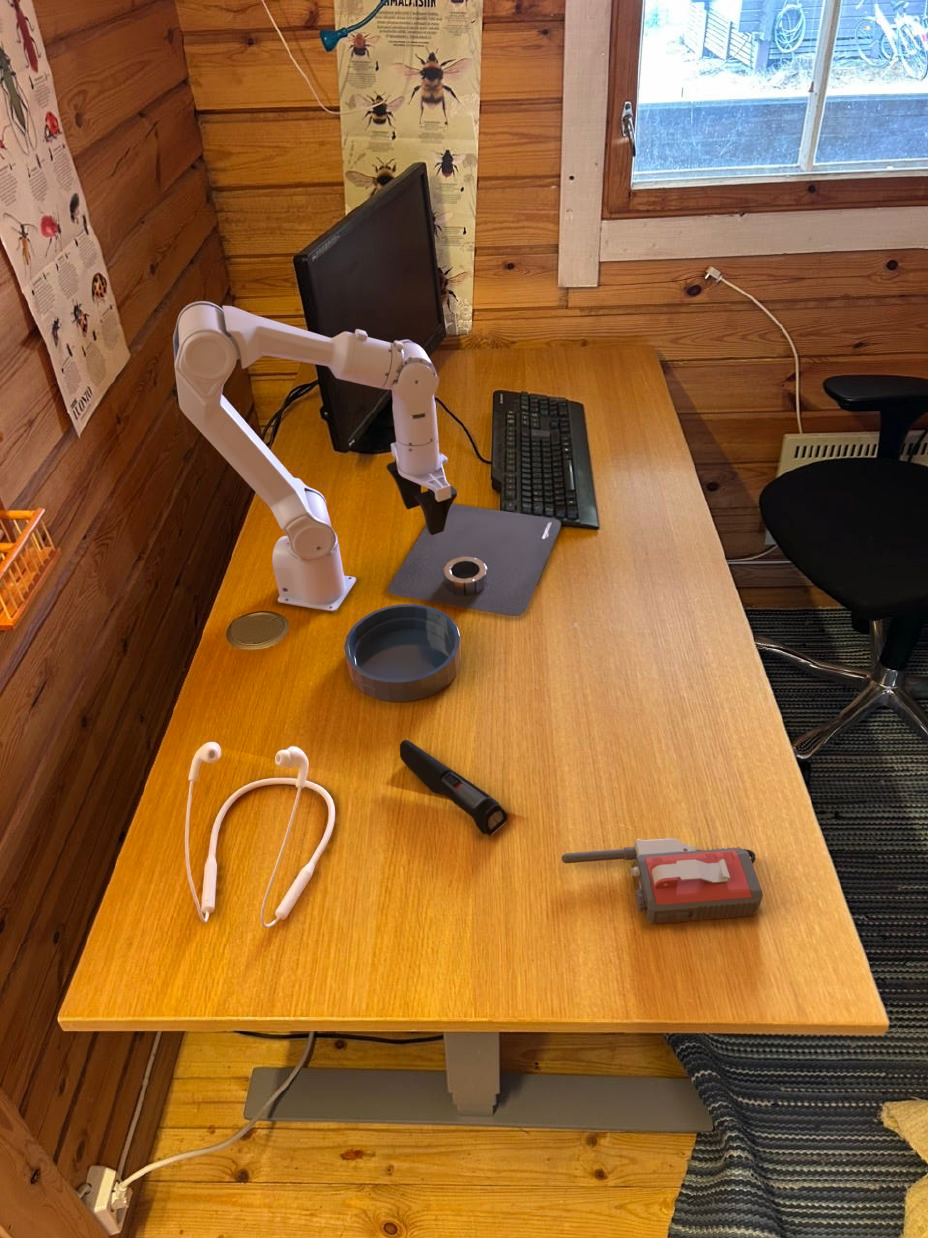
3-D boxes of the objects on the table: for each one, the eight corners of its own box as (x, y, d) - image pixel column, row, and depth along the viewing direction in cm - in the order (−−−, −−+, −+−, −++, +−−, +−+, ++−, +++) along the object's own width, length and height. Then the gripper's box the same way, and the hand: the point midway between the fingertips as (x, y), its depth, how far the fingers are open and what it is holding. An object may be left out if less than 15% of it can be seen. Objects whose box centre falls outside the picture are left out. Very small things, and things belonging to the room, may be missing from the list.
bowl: (330, 692, 112) (325, 670, 110) (374, 617, 123) (370, 596, 121) (440, 714, 109) (438, 692, 106) (475, 635, 119) (474, 614, 117)
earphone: (158, 926, 84) (176, 740, 87) (223, 897, 100) (237, 741, 103) (293, 937, 82) (308, 747, 85) (336, 906, 99) (348, 748, 101)
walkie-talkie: (745, 842, 92) (559, 857, 92) (752, 818, 90) (560, 832, 89) (771, 917, 86) (572, 933, 86) (780, 893, 83) (574, 910, 83)
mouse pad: (522, 619, 121) (522, 618, 121) (384, 594, 127) (384, 593, 127) (563, 520, 139) (563, 519, 139) (440, 502, 144) (440, 501, 144)
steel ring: (439, 592, 126) (438, 579, 125) (452, 567, 131) (451, 553, 129) (479, 599, 125) (479, 585, 123) (491, 573, 129) (491, 559, 127)
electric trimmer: (417, 747, 105) (414, 730, 103) (510, 819, 96) (509, 801, 94) (394, 765, 103) (391, 748, 101) (486, 840, 94) (485, 822, 92)
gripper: (468, 449, 112) (473, 534, 121) (419, 406, 122) (426, 487, 131) (420, 465, 110) (428, 551, 119) (373, 419, 120) (384, 501, 129)
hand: (424, 519), depth 125 cm, fingers open, 7 cm apart
